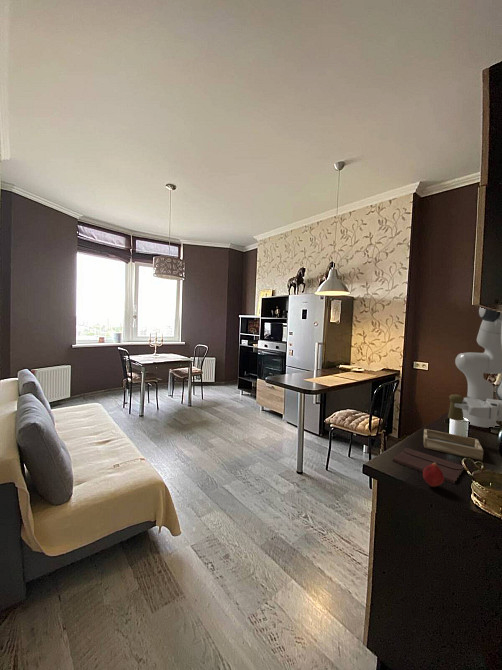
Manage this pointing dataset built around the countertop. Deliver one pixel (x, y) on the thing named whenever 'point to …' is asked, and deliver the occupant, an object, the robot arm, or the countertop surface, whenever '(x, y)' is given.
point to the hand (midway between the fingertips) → (453, 403)
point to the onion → (433, 475)
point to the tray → (453, 444)
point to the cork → (454, 411)
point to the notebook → (429, 463)
